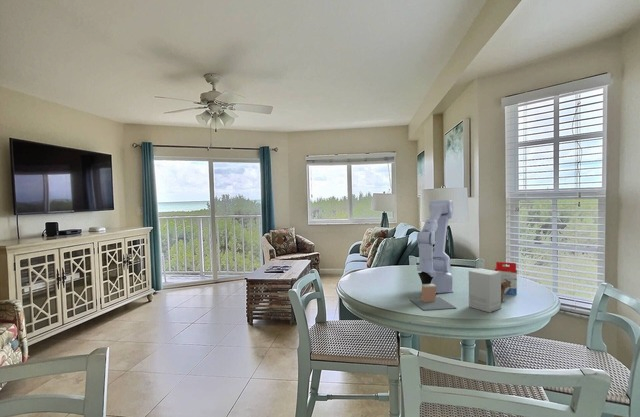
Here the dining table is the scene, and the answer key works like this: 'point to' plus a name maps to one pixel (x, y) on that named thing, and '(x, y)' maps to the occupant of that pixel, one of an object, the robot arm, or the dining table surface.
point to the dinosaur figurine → (503, 287)
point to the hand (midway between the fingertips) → (426, 289)
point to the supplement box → (485, 289)
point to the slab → (428, 292)
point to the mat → (432, 304)
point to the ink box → (508, 276)
